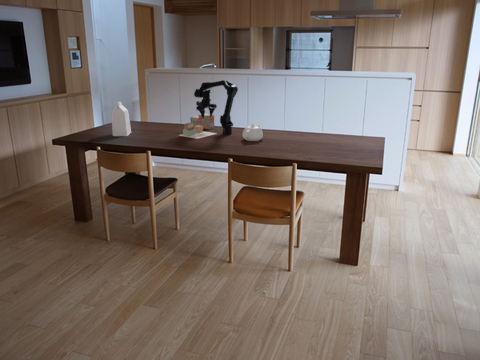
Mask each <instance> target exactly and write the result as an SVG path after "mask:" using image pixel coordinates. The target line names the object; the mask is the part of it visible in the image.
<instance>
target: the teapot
mask: <svg viewBox="0 0 480 360" xmlns="http://www.w3.org/2000/svg"><path fill="white" fill-rule="evenodd" d="M242 137H243V139H244V140H246V141H248V142H259V141H260V140H261V139H262V138H263V137H264V133H263V130H262V127H261V124H258V125H256V124H255V123H251V125H246V126H245V128H244V129H243V131H242Z"/></svg>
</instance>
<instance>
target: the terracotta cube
mask: <svg viewBox="0 0 480 360" xmlns="http://www.w3.org/2000/svg"><path fill="white" fill-rule="evenodd" d="M194 129H195V131H196V133H201V132H203V131H204V128H203V126H200V125H197V126H194Z"/></svg>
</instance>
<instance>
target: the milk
mask: <svg viewBox="0 0 480 360" xmlns="http://www.w3.org/2000/svg"><path fill="white" fill-rule="evenodd" d="M111 111H112V112H111V127H112V128H111V129H112V136H113V137H128V136H129V135H130V133H131V134H132V130H131V121H130V120H131V119H130V114H129V110H128V108H126V107H125V106H124V105H123V103H122V101H118V102H117V103H116V106H114V107H113V110H111Z"/></svg>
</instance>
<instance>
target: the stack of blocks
mask: <svg viewBox="0 0 480 360" xmlns="http://www.w3.org/2000/svg"><path fill="white" fill-rule="evenodd" d="M189 120H190V123H193V125H194V126H197V125H200V126H203V130H204V129H205V130H213V129H215V115H214V114H212V116H211V117H210V113H205V114H204V118H202V116H201V113H200V114H198V115H195V116H190V118H189Z"/></svg>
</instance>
